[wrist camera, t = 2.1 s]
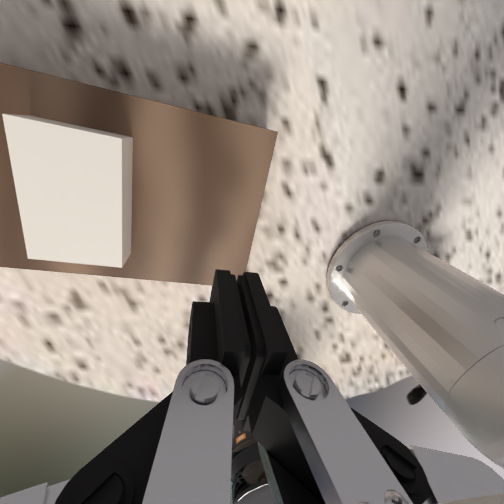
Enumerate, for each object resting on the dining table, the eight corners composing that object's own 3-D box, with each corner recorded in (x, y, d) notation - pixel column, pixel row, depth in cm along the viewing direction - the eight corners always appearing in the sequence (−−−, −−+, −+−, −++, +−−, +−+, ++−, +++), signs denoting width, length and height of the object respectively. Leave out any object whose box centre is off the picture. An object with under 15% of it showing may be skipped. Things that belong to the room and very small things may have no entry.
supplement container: (299, 379, 38) (334, 475, 28) (274, 421, 42) (296, 519, 32) (234, 372, 35) (246, 477, 25) (213, 418, 39) (216, 525, 29)
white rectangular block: (132, 137, 17) (121, 138, 15) (131, 252, 21) (122, 267, 19) (30, 115, 16) (2, 113, 14) (48, 243, 19) (27, 258, 17)
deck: (266, 131, 22) (277, 131, 18) (237, 267, 28) (241, 288, 24) (-42, 55, 17) (-108, 35, 13) (-1, 242, 23) (-39, 263, 19)
